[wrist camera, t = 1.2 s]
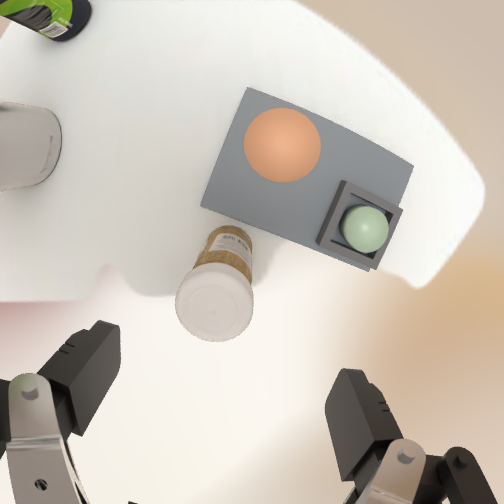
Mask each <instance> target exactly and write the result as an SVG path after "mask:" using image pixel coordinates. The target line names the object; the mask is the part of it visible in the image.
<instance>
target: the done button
mask: <svg viewBox="0 0 504 504" xmlns="http://www.w3.org/2000/svg"><path fill="white" fill-rule="evenodd" d="M340 228H341V233H342V236H343V237H344V239H345V240H346V241H347V242H348V243H349V244H350V245H351V246H353V247H354V248H355V249H356V250H358V251H360V252H365V253H368V252H373V251H375V250H377V249H379V248H380V247H381V246H382V245H383V244H384V242H385V241H386V239H387V236H388V230H389V227H388V222H387V219H386V217H385V216H384V214H383V213H382V212H380V211H379V210H377V209H375V208H372V207H369V206H367V205H362V204H360V205H355V206H352V207H351V208H349V209H348V210H347V211H346V212H345V213H344V215H343V217H342V220H341V225H340Z"/></svg>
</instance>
